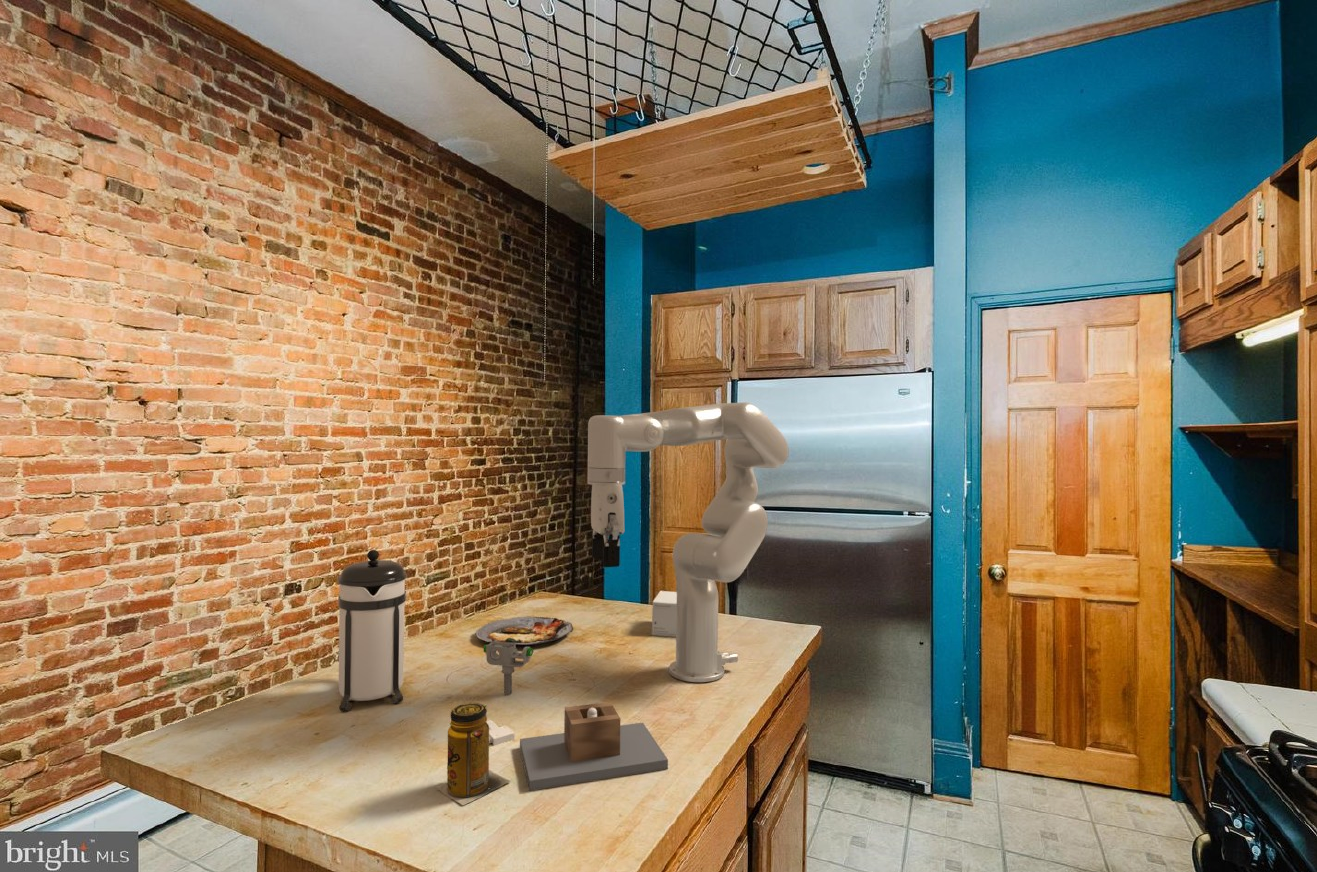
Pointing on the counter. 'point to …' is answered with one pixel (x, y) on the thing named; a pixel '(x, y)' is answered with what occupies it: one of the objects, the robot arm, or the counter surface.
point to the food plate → (525, 630)
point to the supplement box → (664, 614)
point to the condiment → (469, 755)
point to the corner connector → (499, 733)
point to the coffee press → (371, 630)
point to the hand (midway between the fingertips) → (605, 561)
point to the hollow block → (591, 732)
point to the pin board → (554, 767)
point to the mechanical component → (507, 660)
